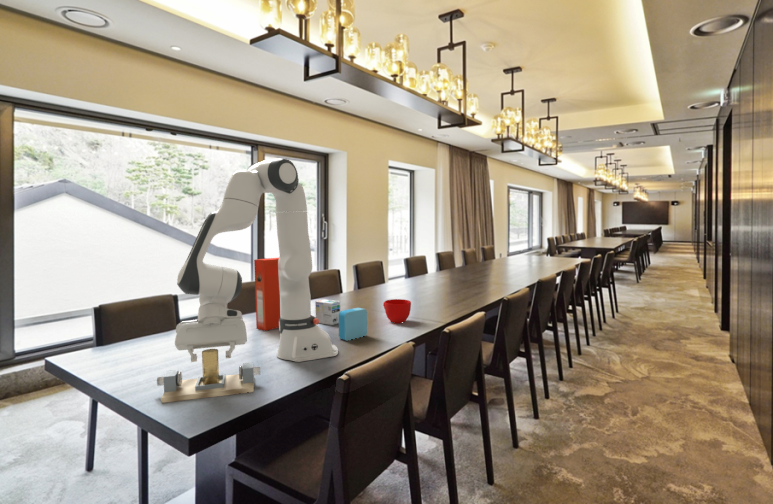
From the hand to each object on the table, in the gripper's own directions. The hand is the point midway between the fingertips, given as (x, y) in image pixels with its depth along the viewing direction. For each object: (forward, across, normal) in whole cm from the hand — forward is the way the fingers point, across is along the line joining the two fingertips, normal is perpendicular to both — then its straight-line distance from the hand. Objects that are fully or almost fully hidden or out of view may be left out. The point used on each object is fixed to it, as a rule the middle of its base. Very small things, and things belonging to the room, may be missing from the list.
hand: (211, 359), depth 123 cm
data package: (-21, +52, +35) cm, 66 cm away
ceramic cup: (-37, +78, +51) cm, 100 cm away
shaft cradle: (+6, 0, +6) cm, 9 cm away
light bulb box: (-42, +46, +56) cm, 83 cm away
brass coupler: (+5, 0, +5) cm, 7 cm away
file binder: (-43, +22, +56) cm, 74 cm away
